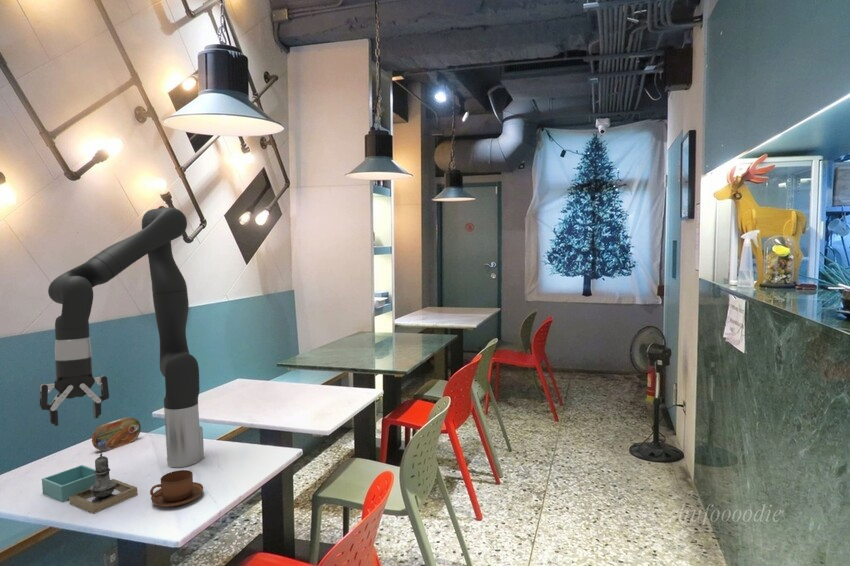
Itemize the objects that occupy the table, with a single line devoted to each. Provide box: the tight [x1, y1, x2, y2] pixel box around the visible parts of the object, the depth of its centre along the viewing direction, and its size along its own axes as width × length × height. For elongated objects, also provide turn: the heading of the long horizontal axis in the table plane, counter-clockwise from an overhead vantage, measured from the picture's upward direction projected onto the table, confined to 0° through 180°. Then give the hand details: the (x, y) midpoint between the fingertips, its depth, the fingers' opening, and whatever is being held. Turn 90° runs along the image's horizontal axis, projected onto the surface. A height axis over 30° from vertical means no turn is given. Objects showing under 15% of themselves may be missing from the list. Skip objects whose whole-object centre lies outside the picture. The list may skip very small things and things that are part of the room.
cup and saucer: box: [149, 469, 204, 508], centre depth 134 cm, size 12×12×6 cm
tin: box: [91, 416, 142, 452], centre depth 172 cm, size 15×3×8 cm, turn 152°
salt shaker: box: [90, 453, 116, 503], centre depth 134 cm, size 6×6×12 cm
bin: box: [41, 464, 96, 503], centre depth 140 cm, size 10×10×4 cm
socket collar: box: [68, 478, 139, 515], centre depth 135 cm, size 11×11×2 cm
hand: (76, 421), depth 131 cm, fingers open, 8 cm apart
